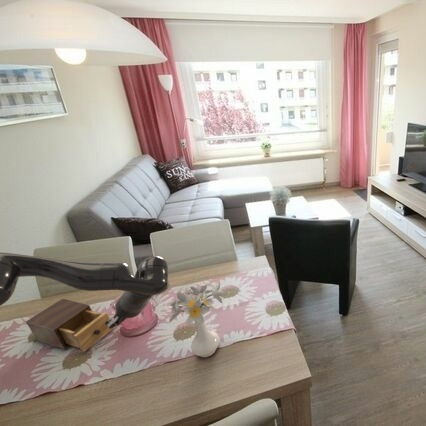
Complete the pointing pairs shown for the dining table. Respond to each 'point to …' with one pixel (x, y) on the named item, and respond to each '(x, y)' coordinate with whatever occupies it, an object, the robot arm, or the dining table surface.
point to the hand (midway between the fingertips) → (117, 322)
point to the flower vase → (199, 317)
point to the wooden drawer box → (55, 321)
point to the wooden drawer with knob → (85, 329)
